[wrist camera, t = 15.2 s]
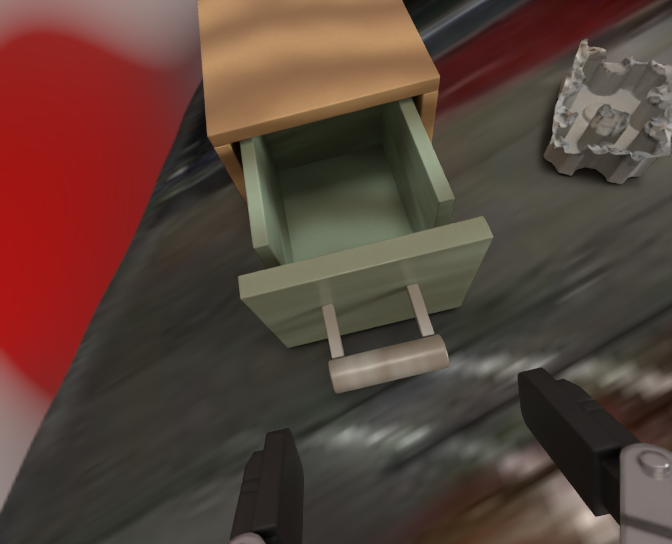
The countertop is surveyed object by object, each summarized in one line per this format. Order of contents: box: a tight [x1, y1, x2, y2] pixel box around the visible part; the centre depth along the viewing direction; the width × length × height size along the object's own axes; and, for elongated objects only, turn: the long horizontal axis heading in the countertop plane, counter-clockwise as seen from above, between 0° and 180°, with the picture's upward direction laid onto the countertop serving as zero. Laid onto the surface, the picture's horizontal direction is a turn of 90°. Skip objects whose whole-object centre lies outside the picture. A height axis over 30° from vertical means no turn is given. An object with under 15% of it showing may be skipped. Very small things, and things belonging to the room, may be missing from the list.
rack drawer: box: [238, 97, 493, 394], centre depth 23 cm, size 19×12×9 cm, turn 12°
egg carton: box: [544, 38, 672, 184], centre depth 29 cm, size 11×8×4 cm
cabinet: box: [197, 0, 440, 206], centre depth 29 cm, size 16×13×11 cm
